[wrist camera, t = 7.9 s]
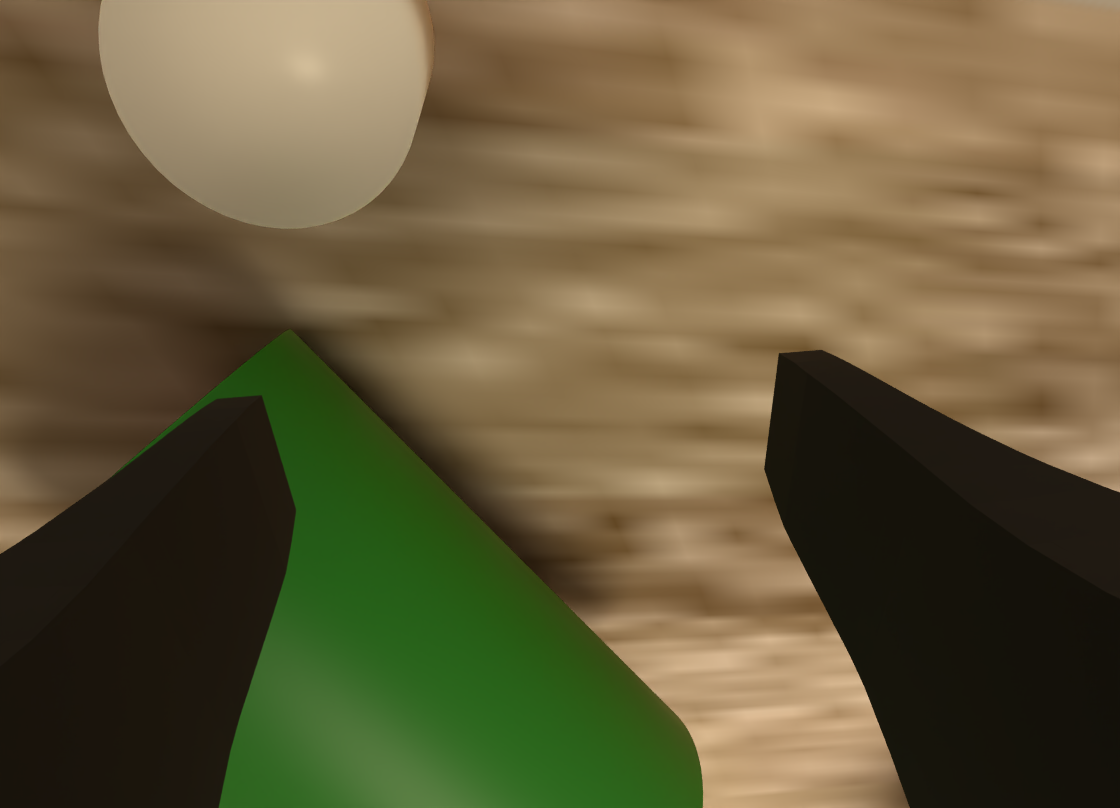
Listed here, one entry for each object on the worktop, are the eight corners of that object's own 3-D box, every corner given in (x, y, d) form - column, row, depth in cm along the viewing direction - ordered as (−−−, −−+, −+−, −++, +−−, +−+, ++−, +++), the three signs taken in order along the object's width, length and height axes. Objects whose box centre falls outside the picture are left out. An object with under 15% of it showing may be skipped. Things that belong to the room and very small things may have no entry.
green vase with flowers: (59, 542, 22) (519, 924, 27) (-209, 755, 14) (537, 1259, 18) (315, 309, 21) (742, 748, 26) (203, 377, 13) (870, 1013, 18)
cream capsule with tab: (533, -47, 16) (551, -30, 12) (352, 197, 19) (315, 281, 14) (326, -254, 14) (262, -320, 10) (154, 51, 17) (44, 100, 12)
